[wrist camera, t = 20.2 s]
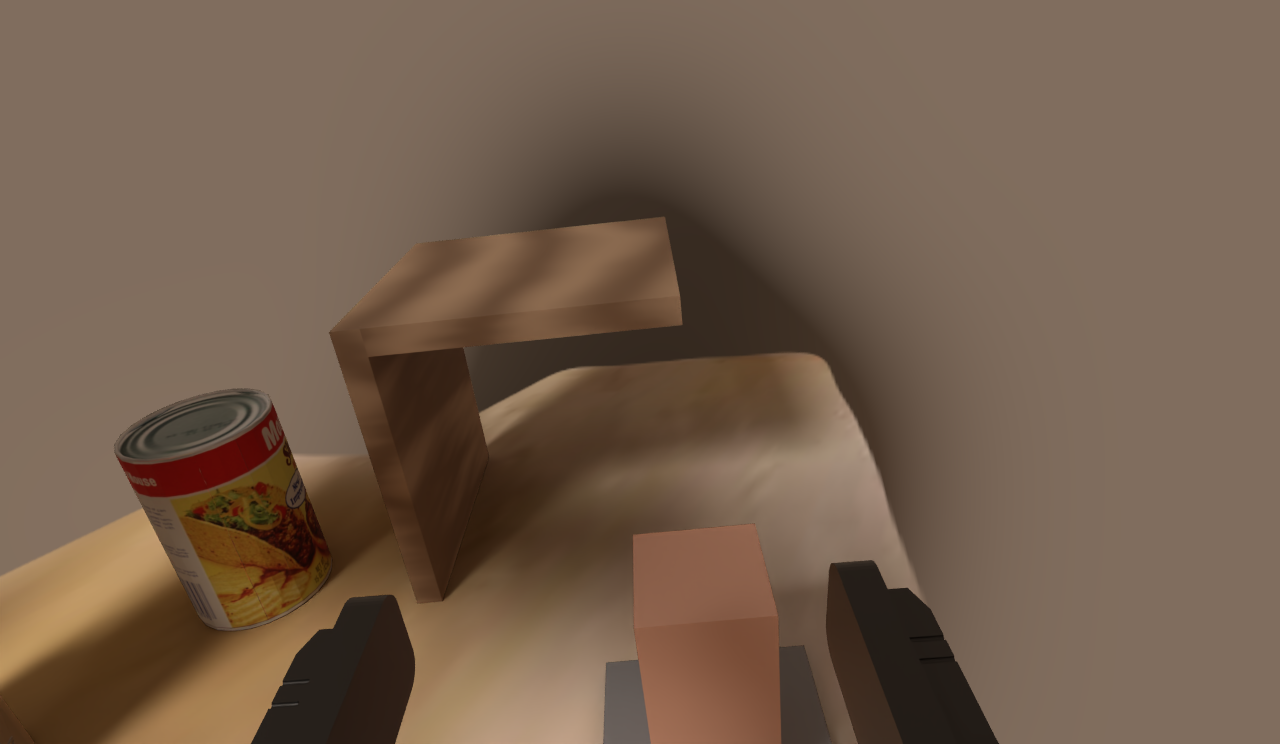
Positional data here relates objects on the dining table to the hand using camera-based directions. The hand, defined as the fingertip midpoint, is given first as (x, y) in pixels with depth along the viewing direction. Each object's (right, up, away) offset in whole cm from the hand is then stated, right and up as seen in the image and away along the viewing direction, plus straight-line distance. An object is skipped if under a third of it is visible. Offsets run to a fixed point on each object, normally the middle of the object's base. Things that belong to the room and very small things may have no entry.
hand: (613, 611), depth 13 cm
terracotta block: (+4, -12, +18) cm, 22 cm away
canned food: (-23, -9, +32) cm, 40 cm away
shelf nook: (-4, -5, +35) cm, 36 cm away
